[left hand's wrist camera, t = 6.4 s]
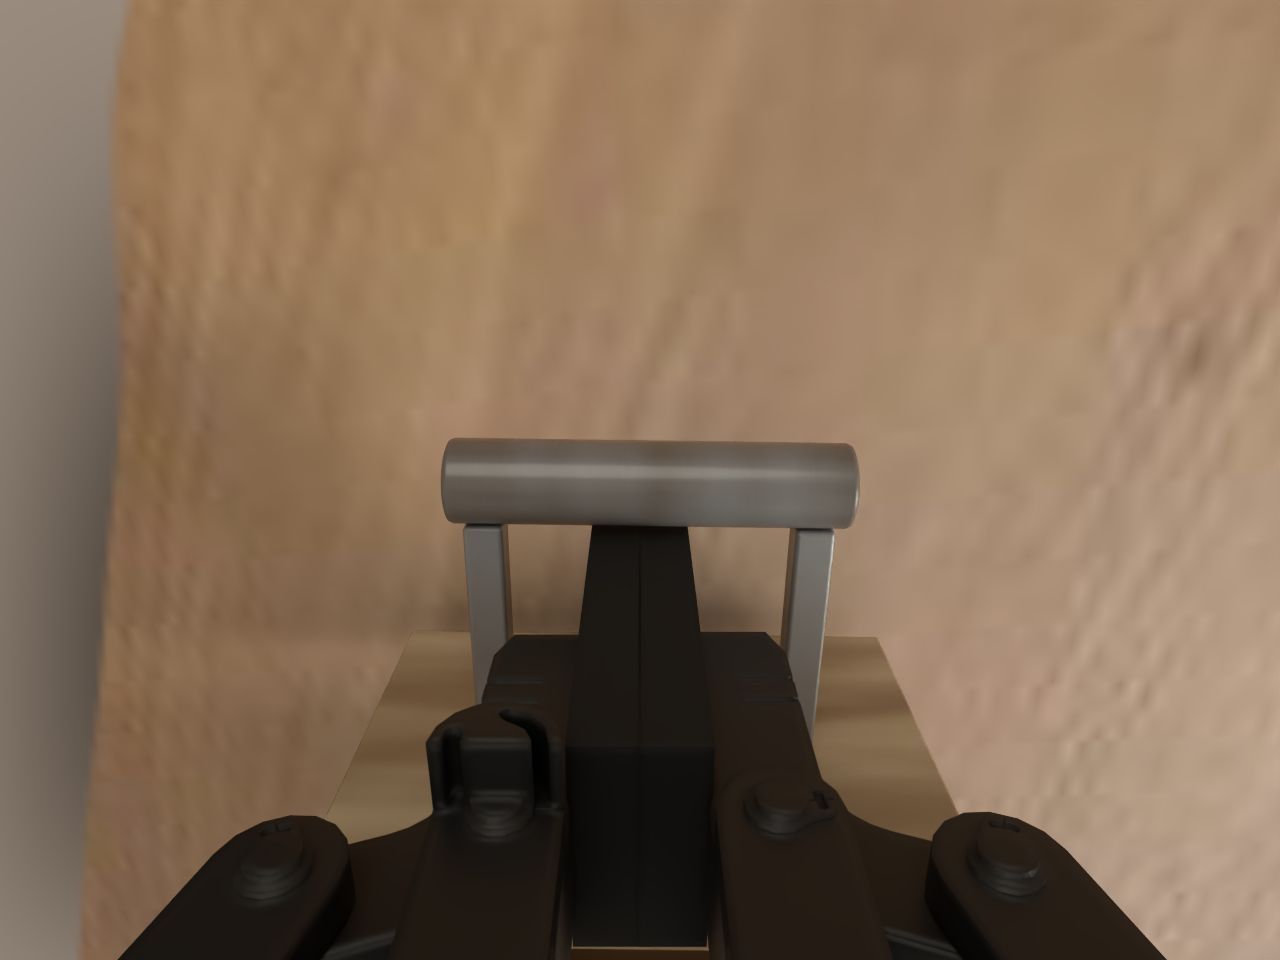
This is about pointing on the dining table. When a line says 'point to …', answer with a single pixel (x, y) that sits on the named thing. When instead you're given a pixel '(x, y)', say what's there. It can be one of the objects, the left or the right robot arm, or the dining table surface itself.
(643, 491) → the drawer
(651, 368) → the dining table surface
